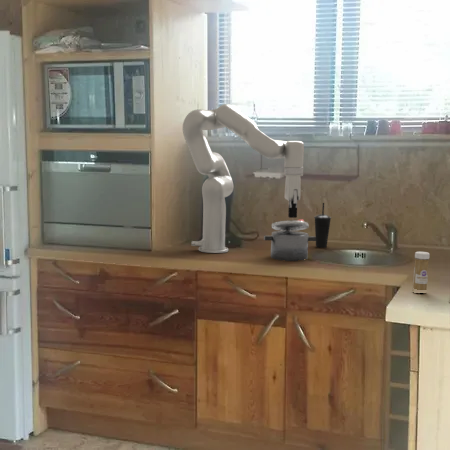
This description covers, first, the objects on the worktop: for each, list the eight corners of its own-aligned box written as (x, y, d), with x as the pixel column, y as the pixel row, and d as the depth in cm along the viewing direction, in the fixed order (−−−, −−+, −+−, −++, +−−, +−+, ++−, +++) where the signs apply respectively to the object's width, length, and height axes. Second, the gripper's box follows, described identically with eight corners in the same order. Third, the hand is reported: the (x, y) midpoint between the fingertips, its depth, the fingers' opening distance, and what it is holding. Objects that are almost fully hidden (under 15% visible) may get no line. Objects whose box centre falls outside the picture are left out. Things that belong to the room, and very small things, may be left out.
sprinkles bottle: (418, 294, 227) (421, 253, 225) (409, 291, 231) (412, 251, 229) (429, 293, 229) (432, 253, 227) (420, 290, 233) (423, 250, 231)
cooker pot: (266, 260, 279) (267, 235, 278) (260, 253, 295) (261, 229, 294) (318, 261, 281) (319, 236, 280) (309, 254, 297) (310, 230, 296)
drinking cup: (329, 245, 321) (331, 202, 318) (330, 248, 313) (332, 204, 311) (312, 245, 322) (314, 201, 319) (312, 247, 314) (315, 203, 312)
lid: (275, 223, 278) (274, 215, 279) (269, 230, 293) (268, 223, 294) (312, 223, 280) (312, 216, 280) (304, 231, 294) (304, 223, 295)
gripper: (281, 170, 288) (280, 215, 291) (287, 172, 274) (286, 219, 276) (299, 171, 289) (298, 215, 291) (306, 172, 274) (305, 219, 277)
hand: (292, 217), depth 284 cm, fingers closed
